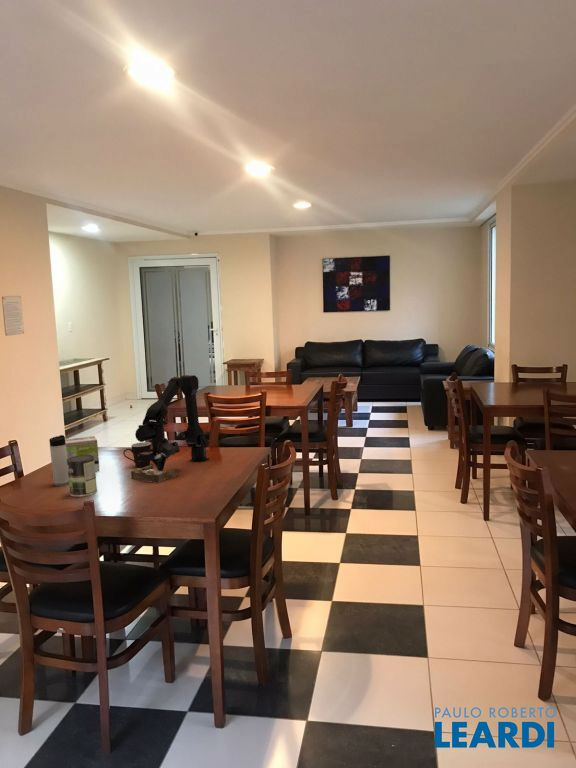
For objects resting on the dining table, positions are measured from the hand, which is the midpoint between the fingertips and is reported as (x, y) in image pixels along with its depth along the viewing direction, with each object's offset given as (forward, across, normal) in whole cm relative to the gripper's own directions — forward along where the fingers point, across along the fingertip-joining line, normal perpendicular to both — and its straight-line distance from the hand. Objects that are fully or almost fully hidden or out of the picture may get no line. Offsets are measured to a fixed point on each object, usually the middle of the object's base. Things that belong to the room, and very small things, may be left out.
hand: (161, 472), depth 262 cm
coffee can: (+1, -32, +10) cm, 33 cm away
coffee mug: (+1, +6, +20) cm, 21 cm away
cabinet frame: (+1, -4, 0) cm, 4 cm away
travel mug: (+1, -28, +30) cm, 41 cm away
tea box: (+1, -12, +38) cm, 40 cm away
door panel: (+1, -4, 0) cm, 5 cm away
